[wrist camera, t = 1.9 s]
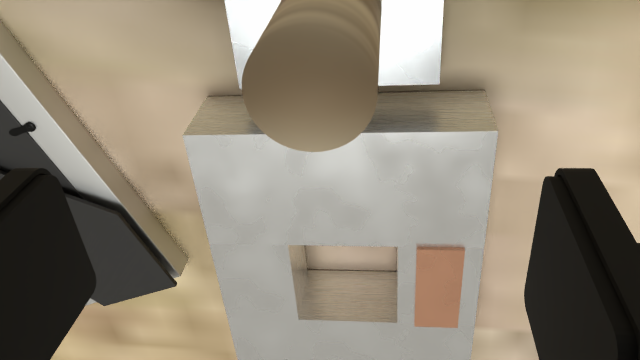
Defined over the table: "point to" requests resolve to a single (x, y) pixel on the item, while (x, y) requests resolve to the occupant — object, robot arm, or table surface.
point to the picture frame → (83, 183)
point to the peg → (315, 73)
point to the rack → (351, 209)
